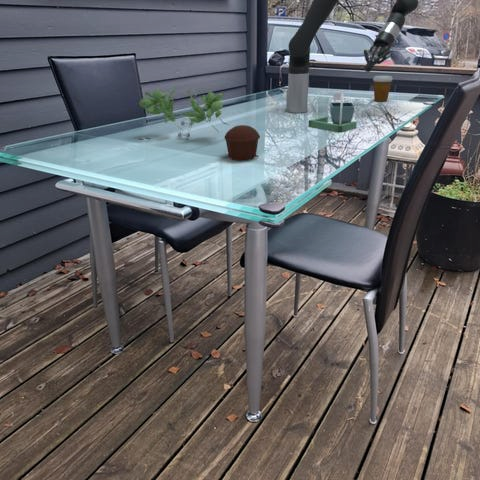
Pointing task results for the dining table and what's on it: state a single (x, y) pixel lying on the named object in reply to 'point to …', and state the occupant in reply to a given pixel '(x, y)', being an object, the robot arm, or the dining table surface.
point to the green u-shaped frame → (323, 123)
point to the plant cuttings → (199, 114)
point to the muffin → (242, 142)
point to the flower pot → (346, 112)
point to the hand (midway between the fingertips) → (366, 70)
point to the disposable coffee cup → (381, 88)
